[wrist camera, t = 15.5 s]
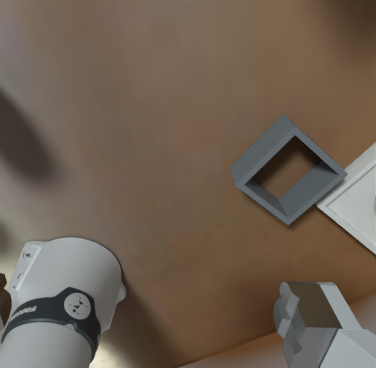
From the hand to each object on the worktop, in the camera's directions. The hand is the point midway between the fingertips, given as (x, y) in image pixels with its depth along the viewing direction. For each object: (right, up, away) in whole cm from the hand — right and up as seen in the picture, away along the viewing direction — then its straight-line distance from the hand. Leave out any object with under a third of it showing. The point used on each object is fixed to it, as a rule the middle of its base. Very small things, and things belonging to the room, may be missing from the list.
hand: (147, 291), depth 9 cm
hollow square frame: (+14, +6, +35) cm, 38 cm away
